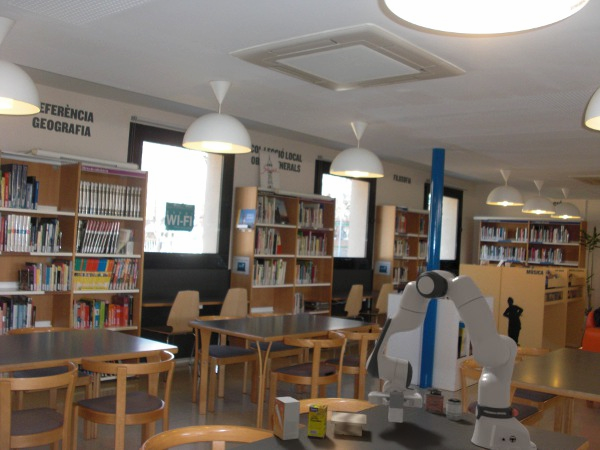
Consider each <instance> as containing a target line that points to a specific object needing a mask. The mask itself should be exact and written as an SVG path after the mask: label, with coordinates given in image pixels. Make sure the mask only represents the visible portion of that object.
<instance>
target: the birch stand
mask: <svg viewBox="0 0 600 450" xmlns="http://www.w3.org/2000/svg"><path fill="white" fill-rule="evenodd" d="M330 424H331V425H334V429H333V430H334V431H333V432H334V435H342V434H344V435H345V436H354V435H355V437H357V436H358V437H362V434H363V427H367V425H368V424H367V414H362V413H351V412H350V413H349V412H338V411H332V413H331V416H330ZM344 435H343V436H344Z"/></svg>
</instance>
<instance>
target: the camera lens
mask: <svg viewBox="0 0 600 450" xmlns="http://www.w3.org/2000/svg"><path fill="white" fill-rule="evenodd" d="M445 408H446V409H445V414H446V419H448V420H450V421H461V419H462V411H463V402H462V400H460V399H457V398H449V399H447V400H446V407H445Z"/></svg>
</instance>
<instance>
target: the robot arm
mask: <svg viewBox="0 0 600 450" xmlns="http://www.w3.org/2000/svg"><path fill="white" fill-rule="evenodd" d="M445 298H449V299H450V300H451V301H452V302H453V304H454V306H455V309H456V310H457V312H458V314H459V317H460V319H461V320H462V322H463V325H464V327H465V329H466V331H467V335H468V337H469V340H470V344H471V347H472V358H473V360H474V361H475V364H477V365H479V366H480V367H483V368H482V370H481V374H480V378H479V379H478V386H477V390H478V391H477V401H476V404H475V405H476V406H475V425H474V430H473V434H472V438H471V439H470V441H471V443H473V444H474V445H476V446H479V447H481V448H484V449H488V450H538V448H537V444H535V443H534V442H533V441H531V437H530V436H531V435H530V432H529V429H528V428H526V426H524V425H523V424H522V423H521V422H520V421H519V420H518V418H516V417H517V416H518V415H519V411H518V410H517V409H515V408H514V407H512V406H510V399H511V397H510V396H511V382H512V377H513V372H514V368H515V362H516V358H517V355H518V351H519V349H518V345H517V342H516V341H515V340H514V339H513V338H511V337H510V336H508V335H506V334H499V332H498V329H497V324H496V321H495V315H494V312H493V311H492V309H491V307H490V305H489V303H488V302H487V299H486V298H485V296H484V294H483V292H482V291H481V289H480V288H479V286H478V285H477V283H475V280H473V279H472V278H471V276H468V275H466V274H465V275H464V274H463V275H462V274H461V275H458V276H457V274H455V273H454V272H452V271H449V270H442V269H441V270H440V269H434V270H428V271H424V272H422V273H421V274H420V275H418V277H417V279H416V280H413V281H410V282H408V283H407V284H406V285H405V287H404V290H403V291H402V295H401V297H400V300H399V303H398V308H397V310H396V312H395V313H394V314H392V315H389V316H388V317H387V319H386V320H385V322H384V324H383V326H382V328H381V331H380V333H379V335H378V338H377V340H376V341H375V345H374V347H373V348H372V352H371V354H370V355H369V356H368V359H367V360H366V363H365V371H366V373H367V374H368V375H369V377H371V379H377V380H378V379H380V380H384V381H385V382H384V384H383V385H382V391H377V390H376V391H370V392H369V393H368V394H367V398H368V404H370V405H375V406H377V405H378V406H385V407H389V402H390V401H389V392H390V391H394V392H403V394H404V403H403V408H408V407H409V408H417V409H419V408H422V407H423V402H424V401H423V396H422V395H421V393H419V392H418V389H414V388H410V386H411V384H412V380H413V373H414V371H413V366H412V363H411V362H410V361H409V360H407V359H404V358H400V357H395V356H391V355H387V354H384V351H385V348H386V347H387V345H388V342H389V340H390V338H391V337H392V336H393V335H395V334H399V333H406V332H412V331H414V330H415V331H416V330H417V329H419V328H420V327H421V326H422V325H424V322H425V318H426V315H427V311H428V307H429V305H430V304H429V303H430V301H431V300H435V299H437V300H442V299H445Z"/></svg>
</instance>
